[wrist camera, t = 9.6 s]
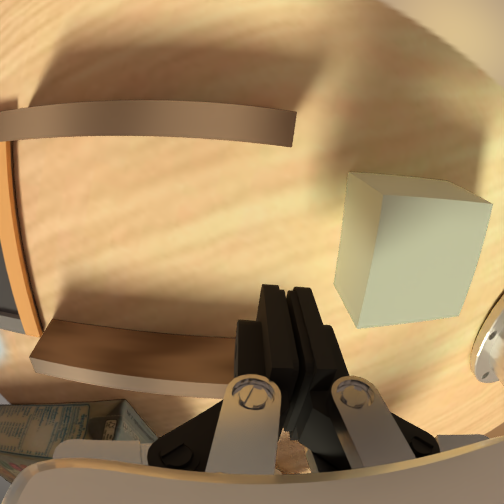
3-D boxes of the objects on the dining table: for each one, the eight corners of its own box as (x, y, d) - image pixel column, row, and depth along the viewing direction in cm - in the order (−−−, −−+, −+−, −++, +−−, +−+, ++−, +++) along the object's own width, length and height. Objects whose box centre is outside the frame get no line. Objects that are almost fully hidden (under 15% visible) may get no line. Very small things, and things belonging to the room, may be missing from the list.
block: (445, 179, 15) (492, 204, 11) (424, 277, 18) (458, 315, 14) (346, 170, 14) (383, 194, 11) (332, 282, 17) (356, 328, 14)
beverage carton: (173, 448, 24) (168, 513, 18) (26, 444, 25) (11, 489, 19) (127, 394, 20) (110, 473, 14) (-19, 399, 21) (-42, 446, 15)
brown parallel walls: (279, 109, 13) (296, 112, 10) (246, 354, 19) (250, 399, 15) (27, 107, 11) (-17, 114, 8) (56, 334, 17) (35, 372, 14)
